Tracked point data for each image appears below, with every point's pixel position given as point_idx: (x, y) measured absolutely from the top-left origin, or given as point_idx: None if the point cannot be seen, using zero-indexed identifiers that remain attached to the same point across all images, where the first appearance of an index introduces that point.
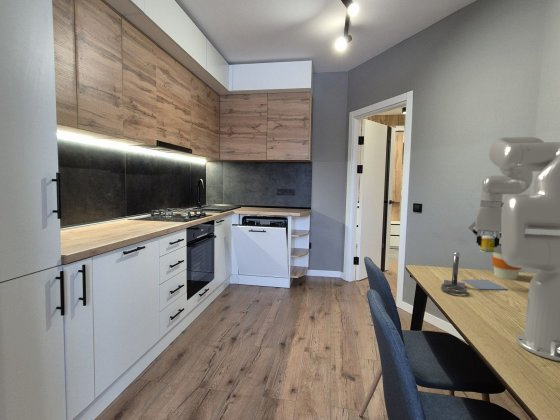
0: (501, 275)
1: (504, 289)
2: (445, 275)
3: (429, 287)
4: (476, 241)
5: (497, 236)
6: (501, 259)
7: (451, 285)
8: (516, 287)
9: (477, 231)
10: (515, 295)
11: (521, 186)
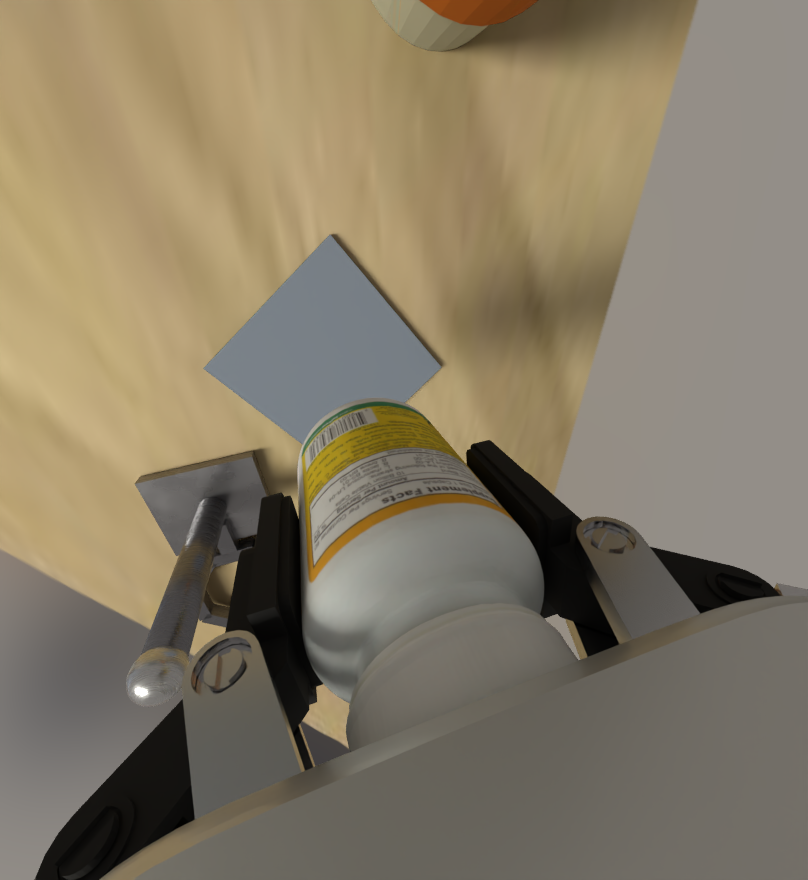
0: (412, 31)
1: (427, 378)
2: (51, 316)
3: (141, 606)
4: (244, 571)
5: (580, 635)
6: None
7: (222, 562)
8: (480, 270)
9: (194, 771)
10: (464, 423)
11: None
